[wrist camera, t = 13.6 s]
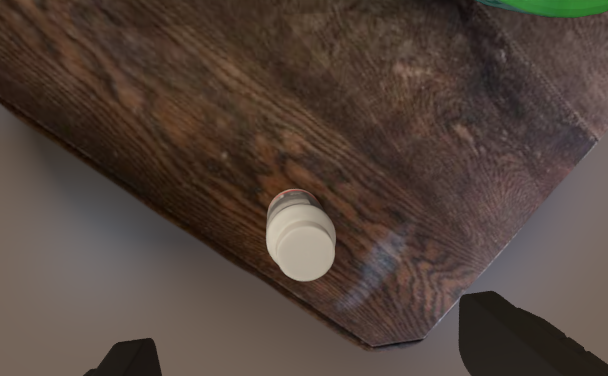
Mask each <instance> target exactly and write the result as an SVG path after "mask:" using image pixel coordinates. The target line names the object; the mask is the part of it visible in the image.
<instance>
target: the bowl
mask: <svg viewBox="0 0 608 376" xmlns="http://www.w3.org/2000/svg"><path fill="white" fill-rule="evenodd" d="M476 1H478V2H481V3H483V4H485V5H489V6H493V7H498V8H503V9H506V10H511V11H516V12H520V13H525V14H534V15H539V16H544V17H557V18H576V17H582V16H588V15H594V14H600V13H603V12H606V11H608V0H476Z"/></svg>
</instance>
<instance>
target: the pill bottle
mask: <svg viewBox="0 0 608 376" xmlns="http://www.w3.org/2000/svg"><path fill="white" fill-rule="evenodd" d="M266 243H267V248H268V251H269V253H270V255H271V257H272V258H273V260H274V261H275V262H276V263H277V264H278V265H279V266H280V268H281V270H282V271H283V272H284V273H285V274H286V275H287V276H289V277H290V278H292V279H295V280H298V281H311V280H315V279H317V278H319V277H321V276H323V275H324V274H325V273H326V272H327V271H328V270H329V269H330V267H331V265H332V263H333V261H334V257H335V243H336V233H335V229H334V226H333V223H332V221H331V219H330V218H329V216H328V215H327V214H326V212H325V211H324V209H323V208H322V206H321V204H320V203H319V201H318V200H317V199H316V198H315V197H314V196H313V195H312V194H311V193H309V192H307V191H305V190H301V189H289V190H286V191H284V192H281V193H280V194H278V195H277V196H276V197H275V198H274V199H273V201H272V202H271V204H270V206H269V209H268V214H267V230H266Z"/></svg>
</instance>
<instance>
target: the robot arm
mask: <svg viewBox="0 0 608 376" xmlns="http://www.w3.org/2000/svg"><path fill="white" fill-rule="evenodd" d="M459 351H460V355H461V358H462V360H463V363H464V365H465V367H466V369H467V370H468V372H469V373H470V374H471V376H608V364H606V363H605V362H604V361H602V360H601V359H599V358H598V357H597V356H595V355H594V354H592V353H591V352H590V351H585V350H584V347H583V346H581V345H580V344H578V343H577V342H576V341H574V340H573V339H571V338H569V337H568V338H567V337H566V336H565V334H564V333H563V332H561V331H560V330H559V329H557V328H556V327H554V326H553V325H551V324H550V323H549V322H547V321H546V320H545V319H542V318H541V317H538V316H536V315H534V314H532V313H530V312H527V311H525V310H523V309H521V308H516V307H515V306H514V305H512V304H511V303H510V302H508V301H507V300H505V299H504V298H503V297H502V296H500V295H499V294H497V293H496V292H494V291H486V292H479V293H472V294H465V295H462V296H461V298H460V303H459ZM83 376H162V374H161V369H160V365H159V360H158V355H157V351H156V346H155V343H154V341H153V339H151V338H146V339H139V340H132V341H124V342H118V343H116V344H115V345H114V346H113V347H112V348H111V350H110V351H109V353H108V354H107V355H106V357H105V358H104V359H103V361H102V362H101V363H100V365H99V366H98V368H97V369H91V370H89V371H88V372H87V373H86V374H84V375H83Z"/></svg>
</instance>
